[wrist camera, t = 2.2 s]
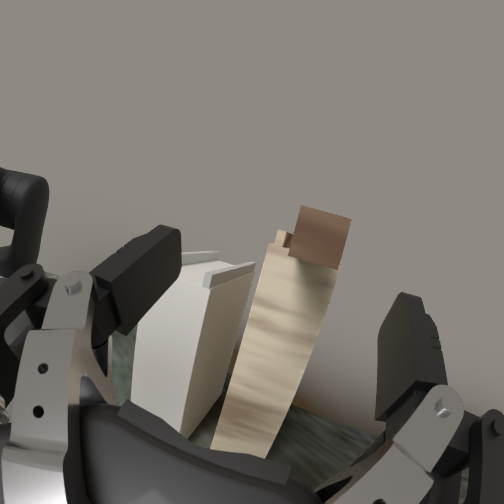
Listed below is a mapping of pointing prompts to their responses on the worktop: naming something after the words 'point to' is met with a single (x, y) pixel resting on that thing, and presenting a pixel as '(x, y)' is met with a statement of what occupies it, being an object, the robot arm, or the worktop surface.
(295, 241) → the walnut bar
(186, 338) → the white upright box
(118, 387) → the worktop surface
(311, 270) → the tall stand
